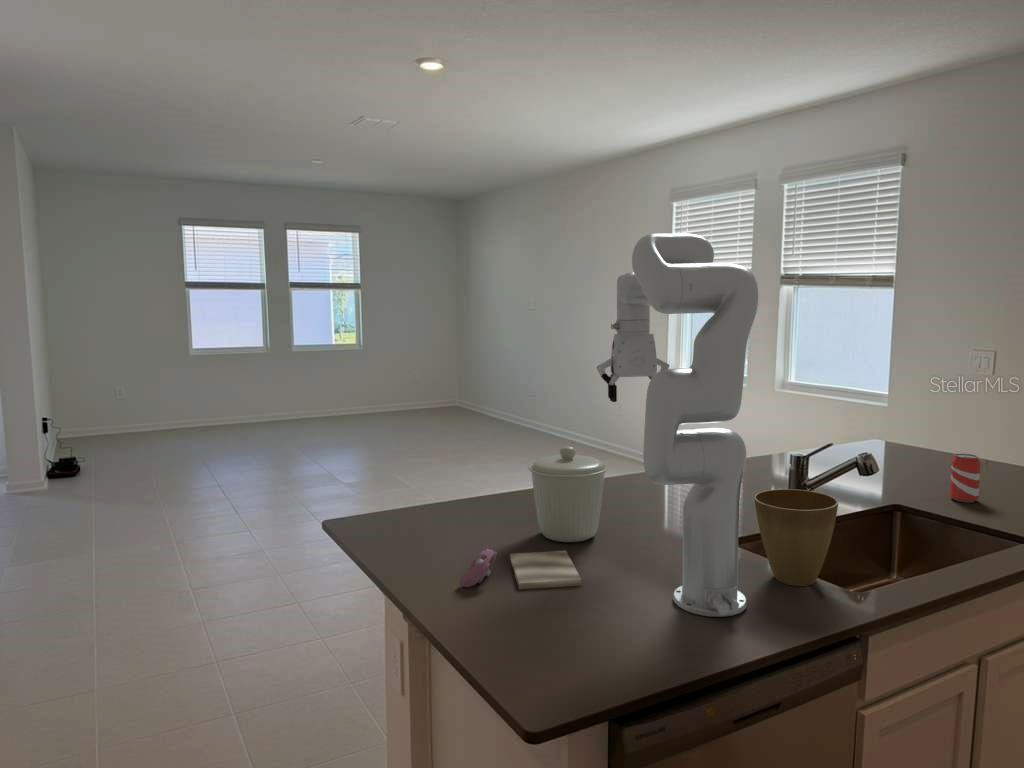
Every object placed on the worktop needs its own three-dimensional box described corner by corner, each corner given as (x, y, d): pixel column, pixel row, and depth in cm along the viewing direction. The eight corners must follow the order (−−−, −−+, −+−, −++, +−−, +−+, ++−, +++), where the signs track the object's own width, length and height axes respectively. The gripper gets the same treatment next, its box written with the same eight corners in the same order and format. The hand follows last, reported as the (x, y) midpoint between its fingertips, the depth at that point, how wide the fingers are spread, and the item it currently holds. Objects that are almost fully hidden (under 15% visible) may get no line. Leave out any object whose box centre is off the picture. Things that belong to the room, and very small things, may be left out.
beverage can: (977, 504, 182) (979, 459, 181) (948, 501, 186) (950, 456, 184) (979, 499, 187) (981, 454, 185) (950, 495, 191) (953, 452, 189)
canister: (543, 553, 153) (542, 457, 151) (520, 527, 170) (518, 442, 168) (620, 544, 158) (620, 451, 155) (590, 520, 175) (589, 436, 173)
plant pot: (812, 563, 144) (815, 486, 142) (850, 593, 129) (854, 508, 128) (741, 565, 144) (742, 489, 142) (771, 596, 129) (773, 510, 127)
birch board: (581, 585, 135) (581, 579, 135) (519, 589, 134) (519, 583, 134) (566, 555, 151) (565, 550, 151) (510, 559, 150) (510, 553, 149)
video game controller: (477, 597, 134) (492, 566, 133) (456, 585, 135) (471, 555, 133) (489, 577, 144) (503, 549, 143) (469, 567, 144) (484, 538, 143)
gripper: (601, 329, 159) (601, 404, 161) (674, 327, 162) (674, 401, 164) (592, 328, 167) (593, 399, 169) (663, 326, 169) (662, 397, 171)
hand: (633, 400), depth 166 cm, fingers open, 9 cm apart
